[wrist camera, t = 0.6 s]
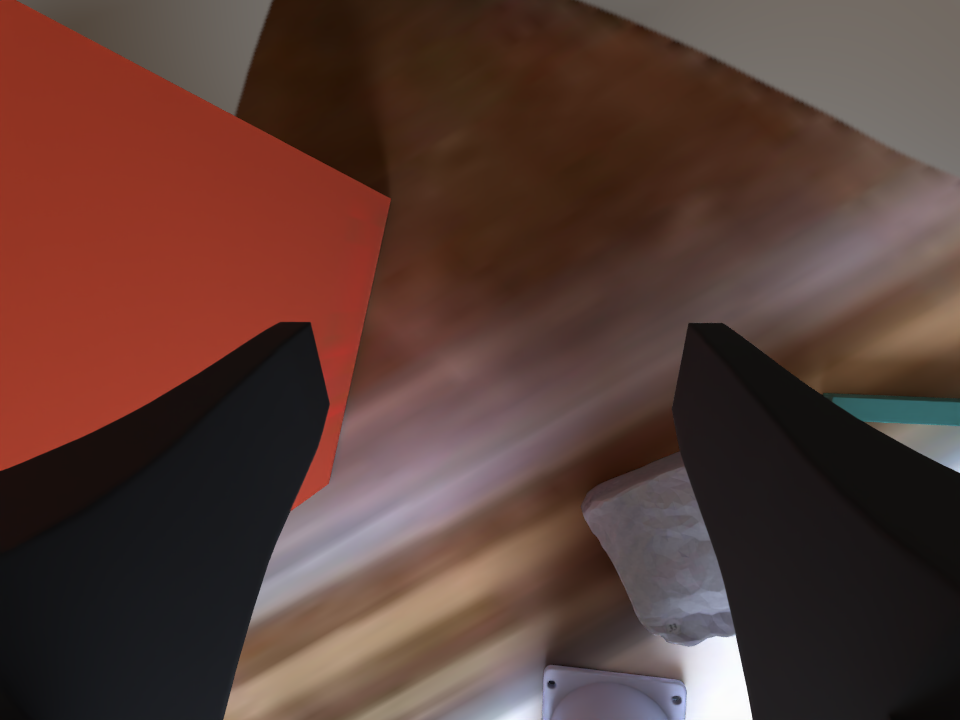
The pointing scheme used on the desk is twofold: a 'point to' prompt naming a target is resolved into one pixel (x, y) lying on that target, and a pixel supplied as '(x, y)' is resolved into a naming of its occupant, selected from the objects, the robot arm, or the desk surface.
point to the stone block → (662, 551)
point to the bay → (899, 408)
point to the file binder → (155, 242)
